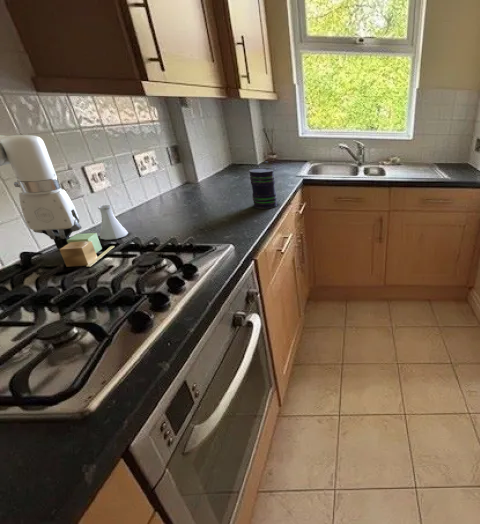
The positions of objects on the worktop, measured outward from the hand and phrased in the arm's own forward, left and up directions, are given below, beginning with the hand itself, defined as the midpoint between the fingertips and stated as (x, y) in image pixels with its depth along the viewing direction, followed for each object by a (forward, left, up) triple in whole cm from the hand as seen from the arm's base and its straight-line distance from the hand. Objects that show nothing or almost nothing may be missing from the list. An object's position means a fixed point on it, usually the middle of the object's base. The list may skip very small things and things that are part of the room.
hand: (66, 250), depth 94 cm
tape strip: (+10, -3, -1) cm, 11 cm away
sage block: (+5, 0, -1) cm, 5 cm away
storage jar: (+52, +43, -1) cm, 68 cm away
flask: (+7, +13, -1) cm, 15 cm away
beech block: (+7, -7, -1) cm, 10 cm away
